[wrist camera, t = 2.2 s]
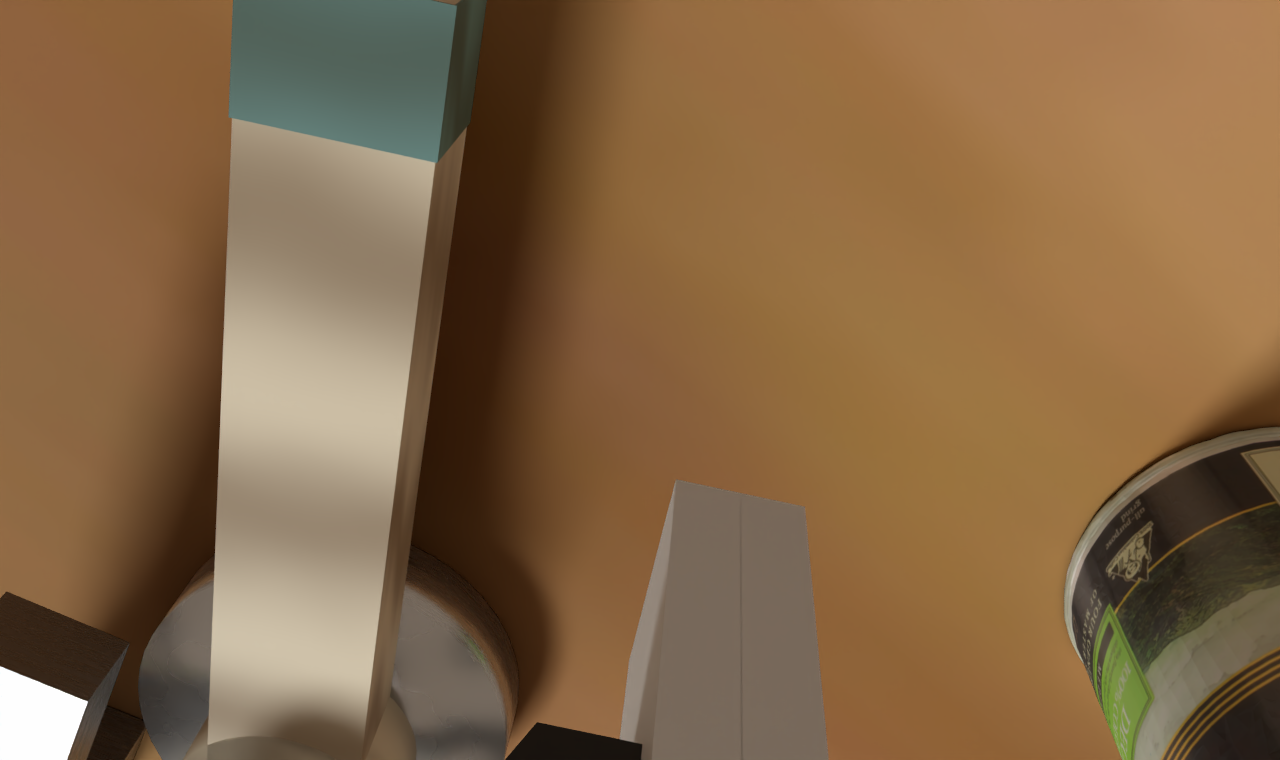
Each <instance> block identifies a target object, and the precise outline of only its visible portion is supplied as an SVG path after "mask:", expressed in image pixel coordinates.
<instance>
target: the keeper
mask: <svg viewBox="0 0 1280 760" xmlns="http://www.w3.org/2000/svg"><path fill="white" fill-rule="evenodd" d="M129 644H130V643H129V642H127V641H125V640H122V639H120V638H117V637H115V636H112V635H110V634H108V633H105V632H103V631H100V630H98V629H96V628H93V627H91V626H88V625H86V624H84V623H81V622H79V621H76V620H74V619H72V618H69V617H67V616H64V615H62V614H60V613H57V612H55V611H52V610H50V609H47V608H45V607H43V606H40V605H38V604H35V603H33V602H31V601H28V600H26V599H23V598H21V597H19V596H16V595H14V594H11V593H9V592H6V593H5V594H4V595H3V596H2V597H1V598H0V760H134V757H135V755H136V752H137V750H138V747H139V745H140V742H141V739H142V737H143V734H144V732H145V729H146V726H145V724H144V721H143V720H141V719H138V718H136V717H134V716H131V715H129V714H126V713H124V712H121V711H119V710H116V709H114V708H111V707H109V706H107V703H108V700H109V698H110V695H111V692H112V690H113V687H114V684H115V681H116V679H117V676H118V673H119V671H120V668H121V665H122V663H123V660H124V657H125V654H126V652H127V649H128V646H129Z"/></svg>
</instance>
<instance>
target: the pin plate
mask: <svg viewBox="0 0 1280 760" xmlns="http://www.w3.org/2000/svg"><path fill="white" fill-rule="evenodd" d="M214 568H215V555H213V556H212V557H211V558H210V559H209V560H208V561H207V562H206V563H205V564H204V565H203V566H202V567H201V568H200V569H199V570H198V571H197V572H196V574H195V575H194V576H193V578H192V579H191V580H190V582H189V583H188V584H187V586H186V587H185V589H184V590H183V592H182V593H181V595H180V596H179V597H178V599H177V600H176V602H175V603H174V605H173V606H172V607H171V609H170V610H169V612H168V613H167V615H166V616H165V618H164V619H163V620H162V622H161V623H160V625H159V626H158V628H157V629H156V630H155V632H154V633H153V635H152V637H151V639H150V641H149V643H148V645H147V647H146V649H145V651H144V655H143V658H142V662H141V666H140V670H139V682H138V692H139V704H140V709H141V713H142V717H143V721H144V724H145V726H146V729H147V731H148V734H149V736H150V739H151V741H152V743H153V744H154V746H155V748H156V750H157V751H158V753H159V755H160V756H161V758H162V760H183V758H184V757H185V755H186V753H187V751H188V750H189V748H190V746H191V744H192V743H193V741H194V739H195V738H196V736H197V734H198V732H199V731H200V729H201V727H202V725H203V724H204V722H205V720H206V718H207V717H208V715H209V695H210V669H211V644H212V618H213V593H214ZM518 695H519V676H518V667H517V663H516V658H515V654H514V651H513V648H512V645H511V643H510V640H509V638H508V635H507V633H506V631H505V629H504V628H503V626H502V624H501V622H500V621H499V619H498V617H497V615H496V614H495V613H494V611H493V610H492V609H491V607H490V606H489V605H488V603H487V602H486V601H485V599H484V598H483V597H482V596H481V595H480V594H479V593H478V592H477V591H476V590H475V589H474V588H473V587H472V586H471V585H470V584H469V583H468V582H467V581H466V580H465V579H463V578H462V577H461V576H460V575H458V574H457V573H456V572H455V571H454V570H452V569H451V568H450V567H448V566H447V565H445V564H444V563H442V562H441V561H439V560H437V559H436V558H434V557H433V556H431V555H430V554H428V553H426V552H424V551H422V550H420V549H418V548H416V547H414V546H412V545H410V552H409V559H408V567H407V574H406V582H405V589H404V596H403V604H402V611H401V619H400V626H399V633H398V641H397V648H396V656H395V663H394V670H393V678H392V685H391V693H390V697H391V698H392V699H393V700H394V701H395V702H396V703H397V705H398V706H399V707H400V708H401V710H402V711H403V713H404V714H405V716H406V717H407V719H408V721H409V723H410V725H411V728H412V730H413V733H414V737H415V741H416V750H417V752H416V760H504V758H505V754H506V750H507V746H508V742H509V738H510V733H511V729H512V725H513V721H514V717H515V713H516V709H517V703H518Z"/></svg>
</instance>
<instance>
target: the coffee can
mask: <svg viewBox="0 0 1280 760" xmlns="http://www.w3.org/2000/svg"><path fill="white" fill-rule="evenodd" d="M1064 617H1065V622H1066V626H1067V630H1068V633H1069V636H1070V639H1071V642H1072V644H1073V646H1074V648H1075V650H1076V652H1077V654H1078V656H1079V657H1080V659H1081V661H1082V662H1083V663H1084V665H1085V668H1086V670H1087V673H1088V675H1089V678H1090V680H1091V683H1092V686H1093V688H1094V690H1095V693H1096V696H1097V699H1098V702H1099V704H1100V706H1101V708H1102V710H1103V713H1104V715H1105V718H1106V721H1107V723H1108V725H1109V728H1110V730H1111V733H1112V735H1113V738H1114V740H1115V743H1116V745H1117V748H1118V750H1119V752H1120V755H1121V757H1122V760H1280V427H1268V428H1259V429H1253V430H1248V431H1240V432H1233V433H1228V434H1225V435H1222V436H1219V437H1217V438H1214V439H1212V440H1209V441H1205V442H1202V443H1198V444H1195V445H1192V446H1190V447H1188V448H1185V449H1183V450H1181V451H1179V452H1177V453H1175V454H1173V455H1170V456H1168V457H1166V458H1164V459H1163V460H1161V461H1159V462H1157V463H1156V464H1154V465H1152V466H1151V467H1149V468H1148V469H1146V470H1145V471H1144V472H1142V473H1141V474H1139V475H1138V476H1136V477H1135V478H1134V479H1132V480H1131V481H1130V482H1129V483H1127V484H1126V485H1125V486H1124V487H1123V488H1122V489H1121V490H1120V491H1118V492H1117V493H1116V494H1115V495H1114V496H1113V497H1112V498H1111V499H1110V500H1109V501H1108V502H1107V503H1106V504H1105V505H1104V506H1103V507H1102V508H1101V509H1100V510H1099V512H1098V513H1097V514H1096V515H1095V516H1094V518H1093V520H1092V521H1091V523H1090V524H1089V526H1088V527H1087V529H1086V531H1085V532H1084V534H1083V535H1082V537H1081V539H1080V541H1079V543H1078V545H1077V547H1076V549H1075V551H1074V553H1073V556H1072V559H1071V562H1070V565H1069V568H1068V571H1067V577H1066V582H1065V588H1064Z"/></svg>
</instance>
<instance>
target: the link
mask: <svg viewBox="0 0 1280 760" xmlns="http://www.w3.org/2000/svg"><path fill="white" fill-rule="evenodd" d="M486 3H487V0H233V16H232V43H231V69H230V96H229V117H230V118H232V136H231V161H230V187H229V212H228V238H227V263H226V288H225V314H224V339H223V364H222V390H221V415H220V441H219V466H218V491H217V517H216V542H215V568H214V593H213V618H212V644H211V669H210V695H209V715H208V717H207V718H206V720H205V722H204V724H203V725H202V727H201V729H200V731H199V732H198V734H197V736H196V738H195V739H194V741H193V743H192V744H191V746H190V748H189V750H188V751H187V753H186V755H185V757H184V758H183V760H416V752H417V750H416V741H415V737H414V733H413V730H412V728H411V725H410V723H409V721H408V719H407V717H406V716H405V714H404V713H403V711H402V710H401V708H400V707H399V706H398V705H397V703H396V702H395V701H394V700H393V699H392V698H391V697H390V693H391V685H392V678H393V670H394V663H395V656H396V648H397V641H398V633H399V626H400V619H401V611H402V604H403V596H404V589H405V582H406V574H407V567H408V559H409V552H410V545H411V537H412V530H413V522H414V515H415V508H416V500H417V493H418V485H419V478H420V471H421V463H422V456H423V448H424V441H425V434H426V426H427V419H428V411H429V404H430V397H431V389H432V382H433V374H434V367H435V360H436V352H437V345H438V337H439V330H440V323H441V315H442V308H443V300H444V293H445V286H446V278H447V271H448V263H449V256H450V249H451V241H452V234H453V226H454V219H455V211H456V204H457V197H458V189H459V182H460V174H461V167H462V160H463V152H464V145H465V137H466V130H467V126H468V125H469V124H470V121H471V113H472V106H473V99H474V91H475V84H476V77H477V69H478V62H479V55H480V47H481V40H482V32H483V25H484V18H485V10H486Z"/></svg>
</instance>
